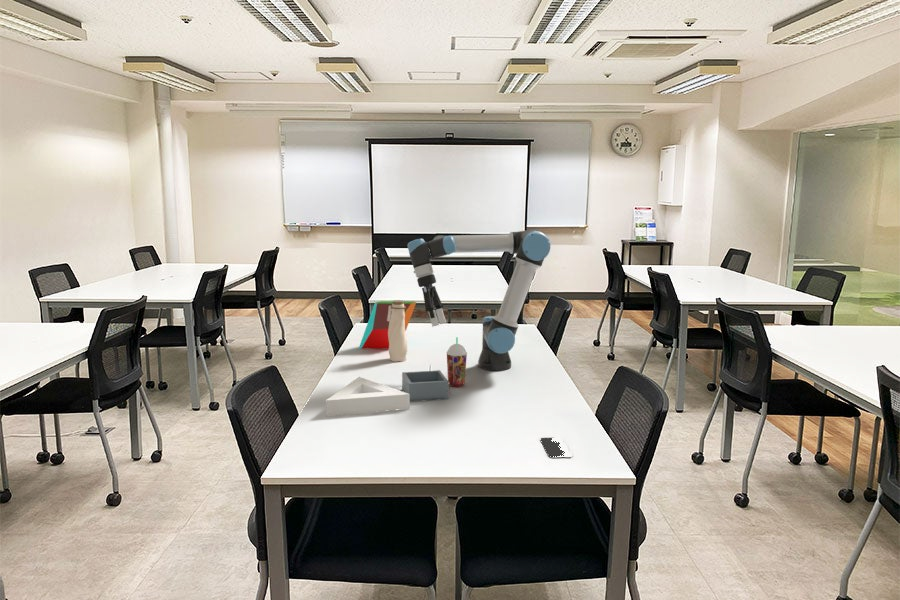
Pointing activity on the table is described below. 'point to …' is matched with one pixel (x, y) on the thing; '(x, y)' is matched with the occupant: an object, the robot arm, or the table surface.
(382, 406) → the triangle block
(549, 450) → the phone
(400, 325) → the water bottle
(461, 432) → the table surface
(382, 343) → the gem
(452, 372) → the smoothie
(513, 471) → the table surface
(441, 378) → the tray
